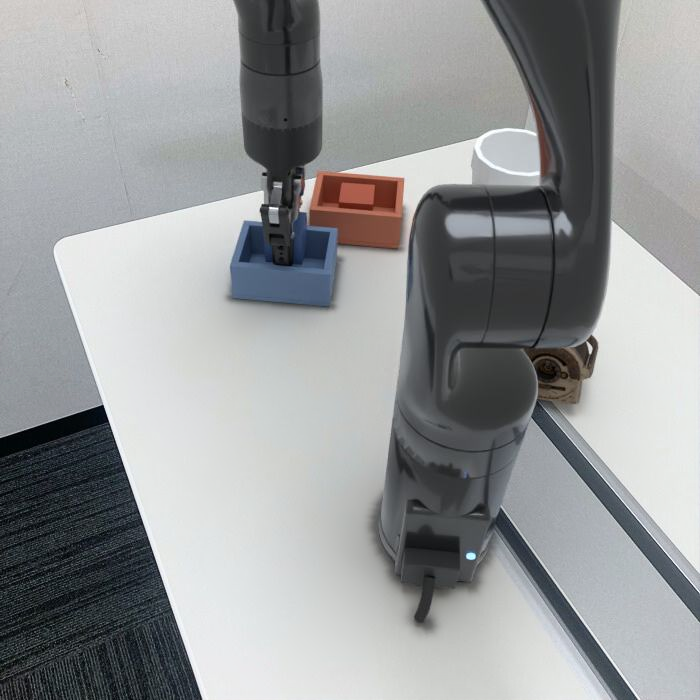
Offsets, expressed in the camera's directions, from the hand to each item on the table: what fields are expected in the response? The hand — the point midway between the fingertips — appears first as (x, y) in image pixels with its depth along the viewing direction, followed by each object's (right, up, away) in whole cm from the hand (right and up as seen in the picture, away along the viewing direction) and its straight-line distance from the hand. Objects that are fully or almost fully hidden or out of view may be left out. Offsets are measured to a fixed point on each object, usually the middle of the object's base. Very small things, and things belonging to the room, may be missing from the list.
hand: (286, 249), depth 82 cm
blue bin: (0, -3, +3) cm, 4 cm away
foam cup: (+24, +1, +8) cm, 26 cm away
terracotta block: (+8, +5, +10) cm, 13 cm away
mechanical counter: (+28, -13, -5) cm, 31 cm away
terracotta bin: (+8, +4, +10) cm, 14 cm away
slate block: (0, 0, 0) cm, 0 cm away
